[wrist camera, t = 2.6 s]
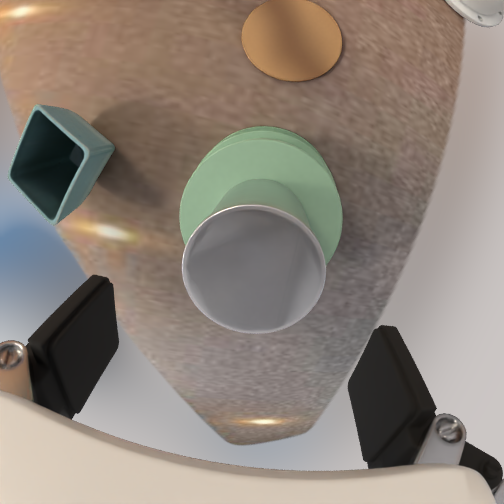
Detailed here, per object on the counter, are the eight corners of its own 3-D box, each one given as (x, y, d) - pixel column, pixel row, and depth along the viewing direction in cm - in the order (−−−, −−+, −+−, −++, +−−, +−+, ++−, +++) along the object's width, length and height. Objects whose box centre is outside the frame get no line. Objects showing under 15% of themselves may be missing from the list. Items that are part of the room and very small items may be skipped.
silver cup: (272, 157, 19) (271, 173, 12) (325, 235, 21) (350, 292, 14) (194, 212, 21) (153, 258, 14) (249, 281, 23) (238, 352, 15)
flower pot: (99, 204, 32) (53, 229, 23) (54, 163, 30) (5, 177, 22) (136, 144, 29) (91, 152, 20) (86, 103, 27) (35, 102, 19)
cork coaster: (301, -15, 21) (301, -16, 20) (360, 54, 23) (361, 53, 23) (222, 29, 23) (221, 28, 23) (281, 99, 26) (281, 99, 26)
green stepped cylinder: (281, 99, 26) (285, 83, 17) (355, 212, 30) (388, 248, 21) (171, 180, 30) (130, 202, 21) (249, 278, 34) (240, 333, 25)
